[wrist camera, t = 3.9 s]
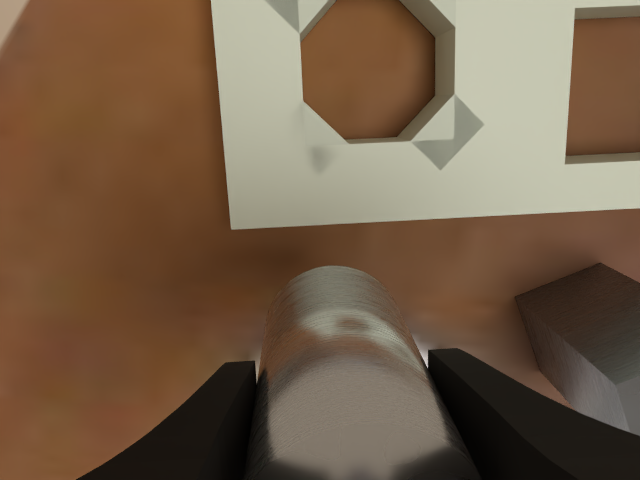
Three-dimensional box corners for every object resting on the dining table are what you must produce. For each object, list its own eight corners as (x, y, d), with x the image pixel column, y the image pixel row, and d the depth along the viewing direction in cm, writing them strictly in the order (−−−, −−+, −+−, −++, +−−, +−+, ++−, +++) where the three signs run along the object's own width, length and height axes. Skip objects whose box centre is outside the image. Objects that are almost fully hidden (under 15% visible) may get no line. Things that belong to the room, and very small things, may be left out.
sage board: (706, 190, 21) (761, 201, 18) (239, 215, 20) (231, 229, 18) (741, -69, 18) (808, -95, 16) (217, -48, 18) (204, -73, 15)
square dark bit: (623, 339, 22) (767, 443, 15) (540, 371, 22) (647, 488, 15) (600, 262, 21) (743, 336, 14) (514, 296, 21) (615, 384, 15)
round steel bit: (401, 386, 15) (490, 629, 8) (270, 395, 15) (247, 649, 8) (399, 261, 14) (498, 414, 7) (259, 270, 14) (223, 433, 7)
